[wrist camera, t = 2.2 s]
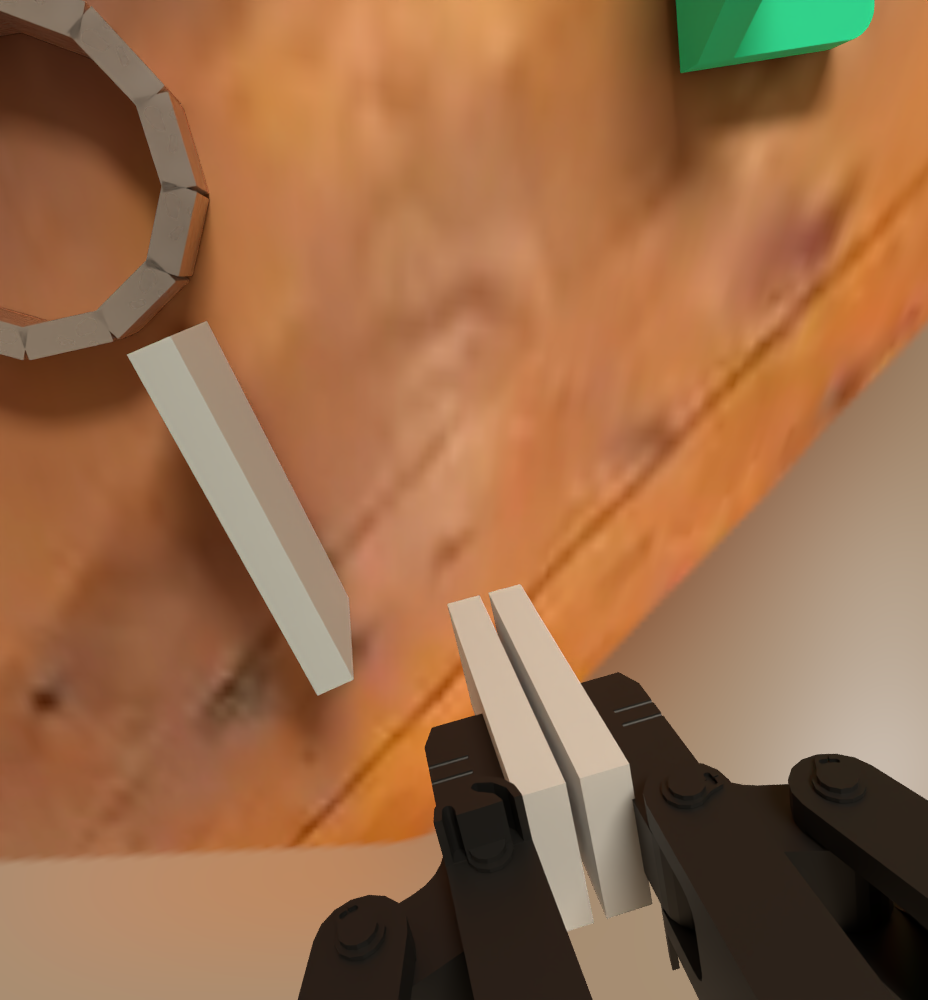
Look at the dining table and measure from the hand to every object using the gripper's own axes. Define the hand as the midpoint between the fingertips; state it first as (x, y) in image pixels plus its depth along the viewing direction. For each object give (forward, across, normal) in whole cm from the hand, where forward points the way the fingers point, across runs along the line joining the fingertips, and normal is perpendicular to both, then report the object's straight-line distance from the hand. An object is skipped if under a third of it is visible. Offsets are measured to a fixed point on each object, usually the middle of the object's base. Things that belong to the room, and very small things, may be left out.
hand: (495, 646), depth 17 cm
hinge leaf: (+18, -6, +1) cm, 19 cm away
